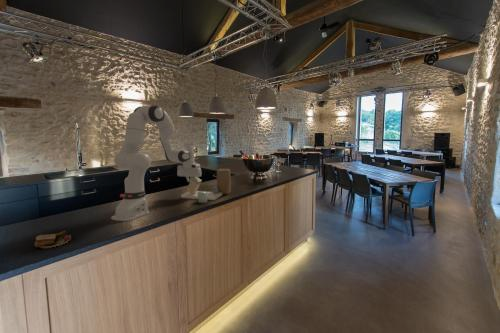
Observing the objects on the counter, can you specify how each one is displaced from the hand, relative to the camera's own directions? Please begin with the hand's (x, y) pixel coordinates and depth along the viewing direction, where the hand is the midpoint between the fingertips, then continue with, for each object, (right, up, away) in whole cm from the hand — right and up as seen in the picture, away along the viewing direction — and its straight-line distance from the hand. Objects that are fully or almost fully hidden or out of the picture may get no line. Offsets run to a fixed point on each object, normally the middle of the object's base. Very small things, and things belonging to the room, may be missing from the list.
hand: (189, 181), depth 199 cm
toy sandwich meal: (-44, -24, -83) cm, 97 cm away
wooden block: (+27, -10, +9) cm, 30 cm away
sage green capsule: (+13, -14, -16) cm, 25 cm away
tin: (+21, -9, 0) cm, 23 cm away
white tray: (+10, -11, -1) cm, 15 cm away
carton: (+1, -8, +1) cm, 8 cm away
